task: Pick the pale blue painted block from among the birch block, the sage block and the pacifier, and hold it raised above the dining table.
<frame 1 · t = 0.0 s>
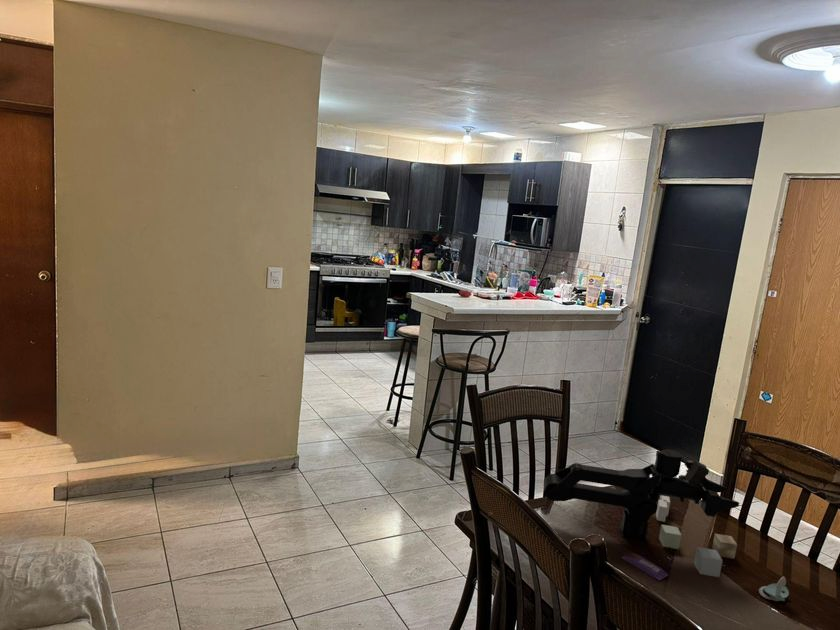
hand: (732, 496, 165), 17 cm above the table, tool horizontal, fingers open, 9 cm apart
snack package: (643, 569, 155), on the table
sage block: (668, 543, 168), on the table
birch block: (722, 553, 166), on the table
blue block: (706, 570, 156), on the table
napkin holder: (659, 515, 186), on the table
pacifier: (772, 597, 148), on the table
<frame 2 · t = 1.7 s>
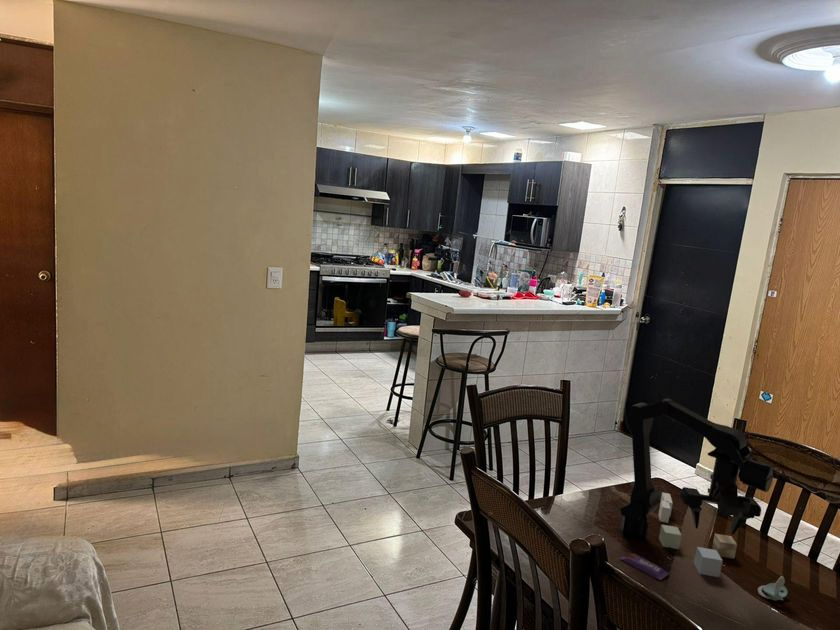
hand: (713, 530, 154), 11 cm above the table, tool pointing down, fingers open, 9 cm apart
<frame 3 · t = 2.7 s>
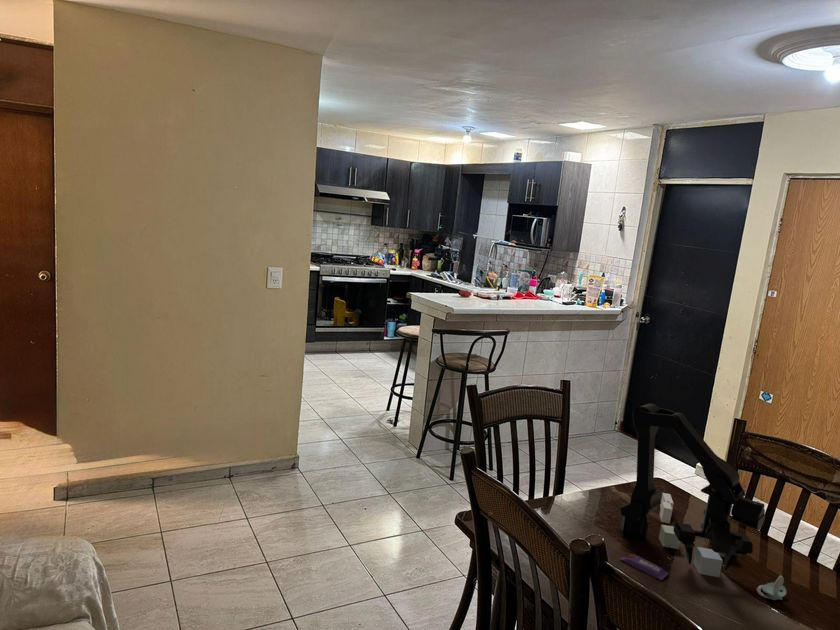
hand: (706, 566, 156), 1 cm above the table, tool pointing down, fingers open, 9 cm apart
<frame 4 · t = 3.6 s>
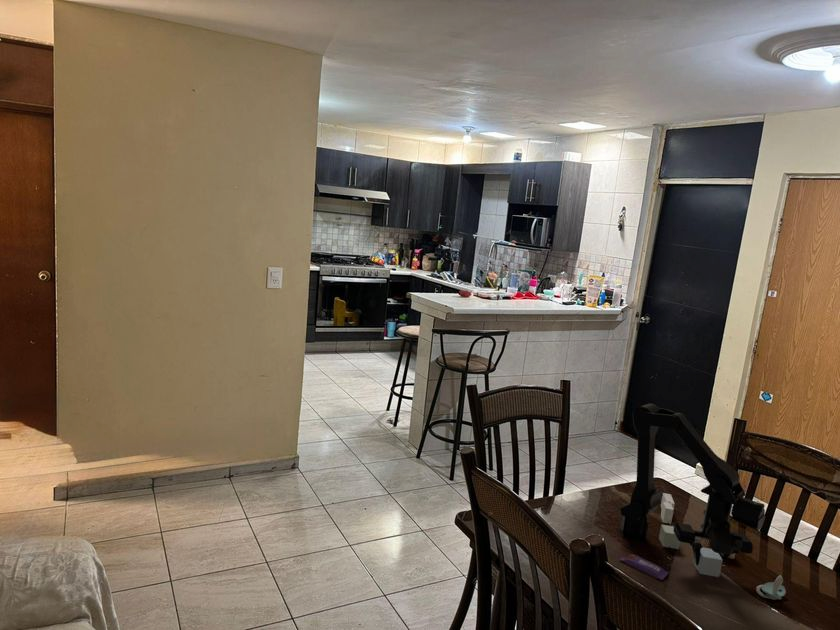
hand: (706, 566, 156), 1 cm above the table, tool pointing down, fingers closed on blue block, 5 cm apart
blue block: (706, 569, 156), on the table, touching gripper
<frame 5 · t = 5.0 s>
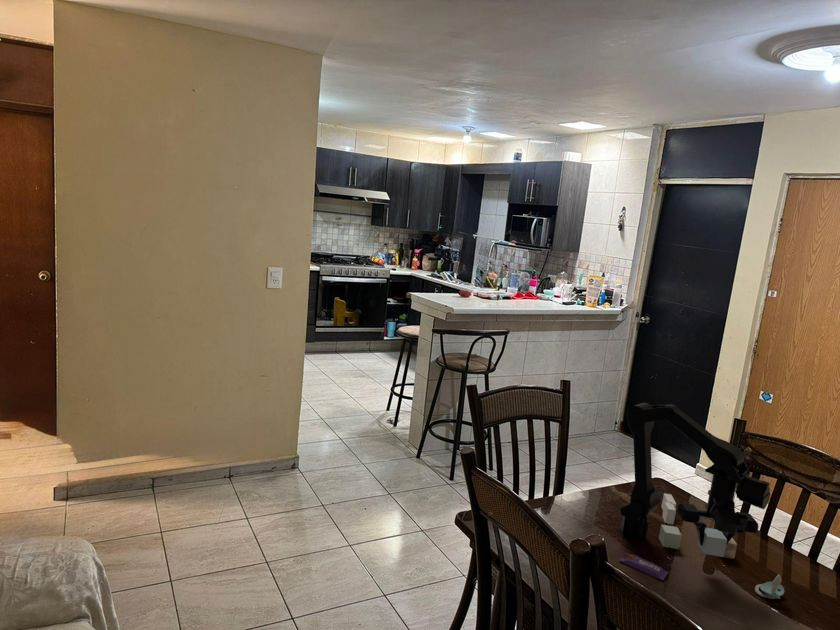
hand: (711, 546, 155), 7 cm above the table, tool pointing down, fingers closed on blue block, 5 cm apart
blue block: (710, 550, 155), point 6 cm above the table, touching gripper
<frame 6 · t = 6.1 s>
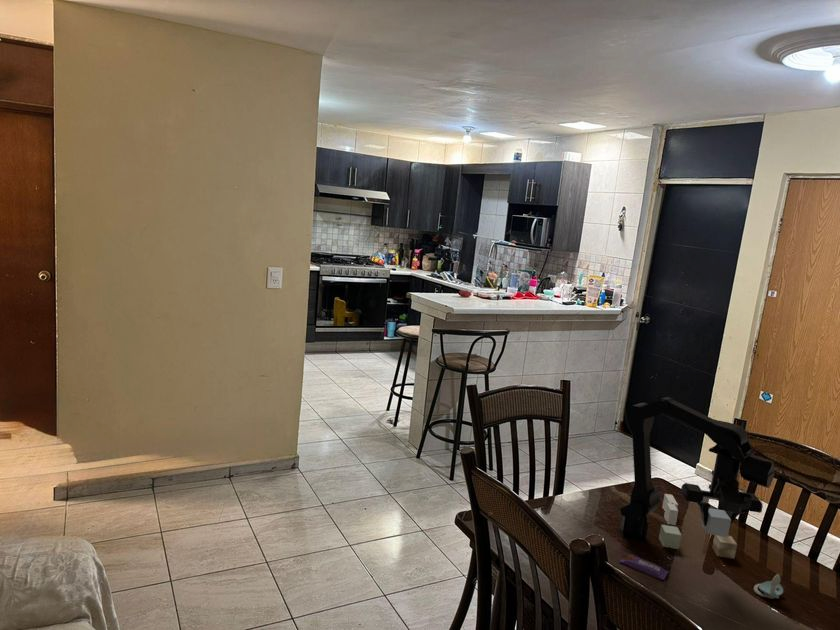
hand: (715, 527, 154), 13 cm above the table, tool pointing down, fingers closed on blue block, 5 cm apart
blue block: (714, 530, 154), point 12 cm above the table, touching gripper
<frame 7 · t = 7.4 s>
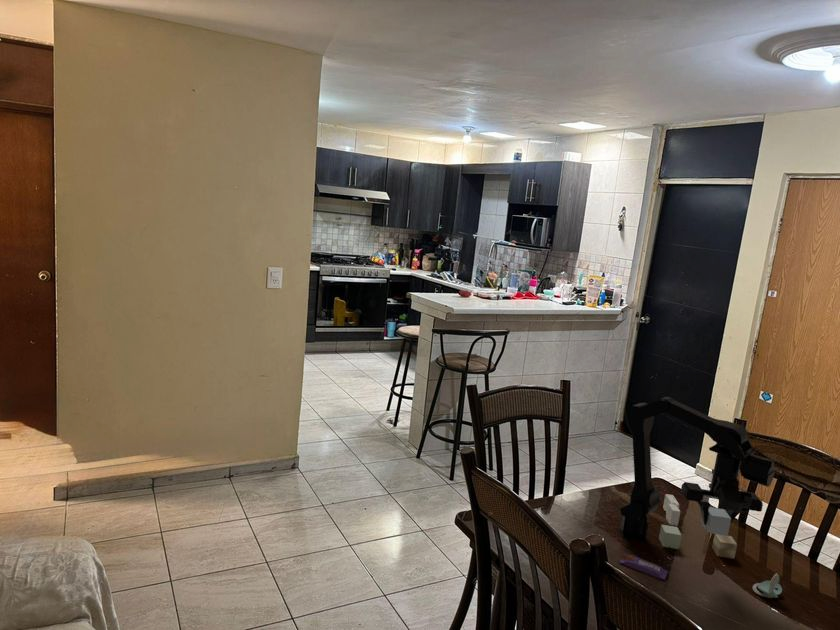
hand: (715, 525, 154), 13 cm above the table, tool pointing down, fingers closed on blue block, 5 cm apart
blue block: (714, 529, 154), point 12 cm above the table, touching gripper
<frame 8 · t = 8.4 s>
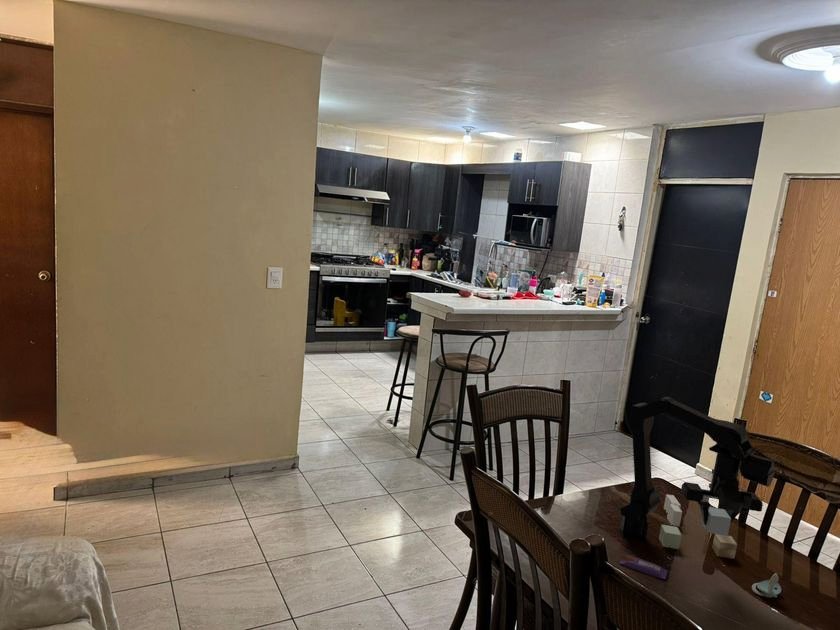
hand: (715, 525, 154), 13 cm above the table, tool pointing down, fingers closed on blue block, 5 cm apart
blue block: (714, 529, 154), point 12 cm above the table, touching gripper
at the end: the gripper is holding blue block; blue block point 11.9 cm above the table; sage block moved 0.1 cm from its start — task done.
